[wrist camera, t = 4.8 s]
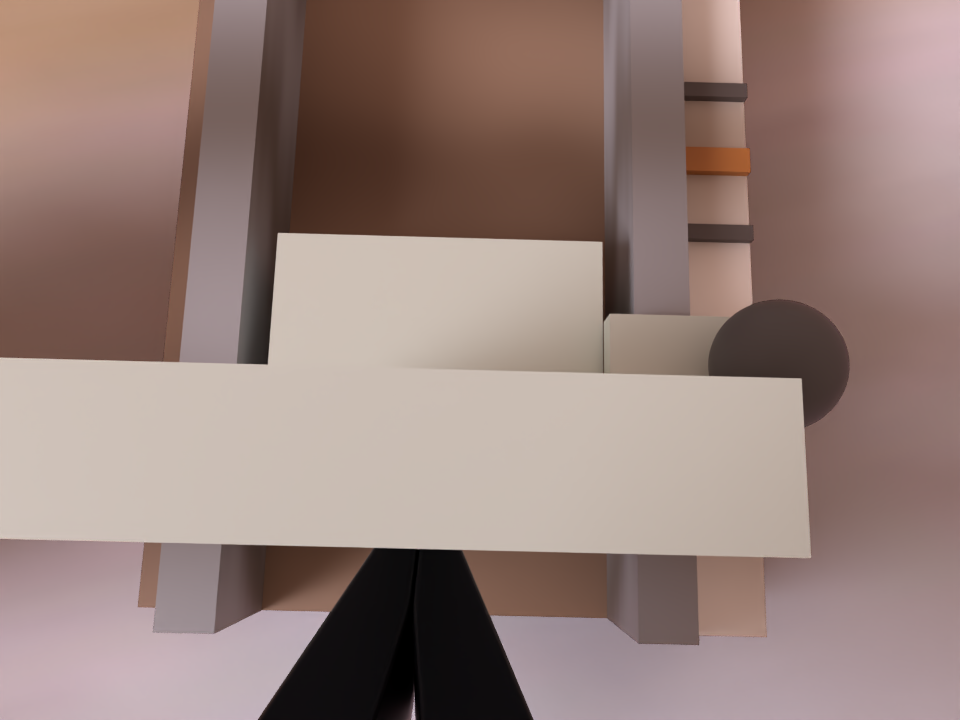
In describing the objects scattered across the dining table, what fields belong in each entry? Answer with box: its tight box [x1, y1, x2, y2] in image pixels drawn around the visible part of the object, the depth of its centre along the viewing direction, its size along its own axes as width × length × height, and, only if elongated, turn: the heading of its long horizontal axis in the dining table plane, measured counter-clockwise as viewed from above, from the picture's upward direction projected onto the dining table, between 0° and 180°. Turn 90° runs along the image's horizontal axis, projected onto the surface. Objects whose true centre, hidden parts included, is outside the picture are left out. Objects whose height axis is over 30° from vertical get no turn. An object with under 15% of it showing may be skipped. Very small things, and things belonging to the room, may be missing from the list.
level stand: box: [138, 0, 767, 645], centre depth 17 cm, size 18×12×5 cm, turn 179°
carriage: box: [0, 233, 849, 558], centre depth 11 cm, size 5×9×11 cm, turn 89°
